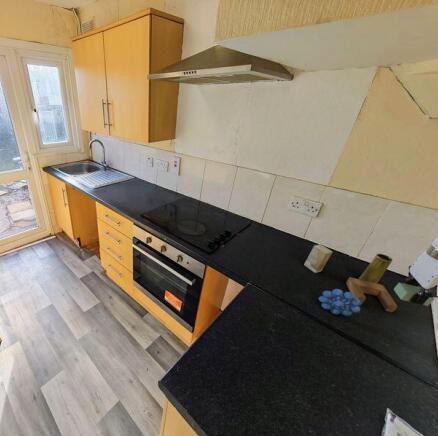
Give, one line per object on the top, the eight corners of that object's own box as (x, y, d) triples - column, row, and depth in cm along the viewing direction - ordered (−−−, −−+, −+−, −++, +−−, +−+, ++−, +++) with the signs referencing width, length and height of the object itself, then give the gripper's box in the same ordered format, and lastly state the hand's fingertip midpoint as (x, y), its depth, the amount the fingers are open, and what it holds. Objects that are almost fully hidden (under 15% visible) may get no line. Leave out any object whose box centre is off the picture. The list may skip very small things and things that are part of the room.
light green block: (418, 295, 79) (425, 288, 77) (428, 306, 75) (434, 298, 73) (393, 289, 81) (398, 282, 79) (400, 299, 77) (406, 292, 75)
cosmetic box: (303, 265, 112) (313, 245, 106) (309, 263, 113) (319, 243, 107) (315, 273, 107) (326, 253, 101) (322, 271, 108) (333, 251, 102)
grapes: (352, 315, 87) (368, 293, 81) (350, 326, 83) (367, 304, 77) (317, 298, 94) (329, 276, 88) (313, 307, 90) (326, 286, 84)
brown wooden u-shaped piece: (378, 290, 98) (383, 285, 97) (392, 312, 89) (397, 306, 87) (345, 282, 102) (349, 276, 100) (355, 302, 92) (359, 296, 91)
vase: (374, 280, 104) (392, 256, 97) (377, 288, 99) (396, 263, 92) (357, 275, 107) (373, 251, 100) (360, 283, 102) (376, 258, 95)
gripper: (486, 276, 61) (442, 320, 70) (442, 242, 75) (410, 282, 83) (449, 269, 63) (410, 312, 72) (413, 237, 77) (385, 277, 86)
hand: (411, 296), depth 78 cm, fingers closed on light green block, 5 cm apart
